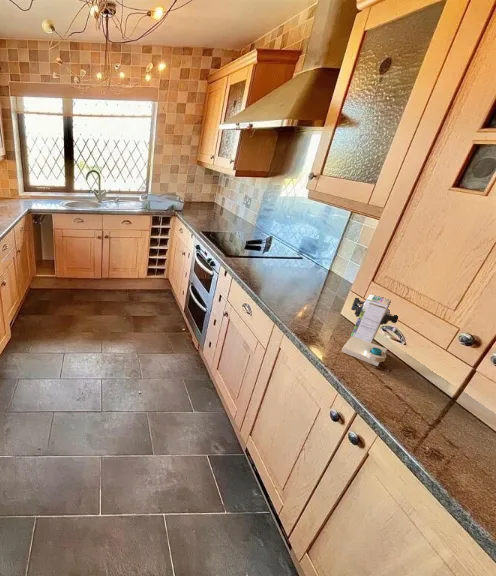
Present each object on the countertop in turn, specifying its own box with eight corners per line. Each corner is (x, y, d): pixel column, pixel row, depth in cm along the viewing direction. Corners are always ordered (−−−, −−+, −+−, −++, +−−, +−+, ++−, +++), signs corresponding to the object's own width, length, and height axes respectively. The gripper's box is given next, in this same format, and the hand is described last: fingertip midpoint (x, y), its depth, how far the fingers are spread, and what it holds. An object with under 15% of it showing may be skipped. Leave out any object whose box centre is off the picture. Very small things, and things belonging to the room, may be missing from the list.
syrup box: (354, 329, 108) (369, 293, 102) (375, 336, 104) (392, 299, 98) (350, 336, 105) (365, 299, 98) (371, 343, 101) (388, 305, 94)
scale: (388, 354, 103) (392, 346, 101) (380, 369, 97) (384, 360, 95) (350, 340, 110) (353, 332, 109) (340, 352, 104) (343, 344, 103)
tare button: (381, 353, 99) (382, 349, 98) (379, 356, 97) (380, 353, 97) (371, 350, 100) (373, 346, 100) (369, 353, 99) (371, 349, 98)
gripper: (405, 317, 106) (393, 337, 96) (355, 302, 115) (340, 319, 106) (414, 298, 102) (403, 316, 93) (362, 285, 112) (347, 300, 103)
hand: (369, 317), depth 99 cm, fingers closed on syrup box, 6 cm apart
